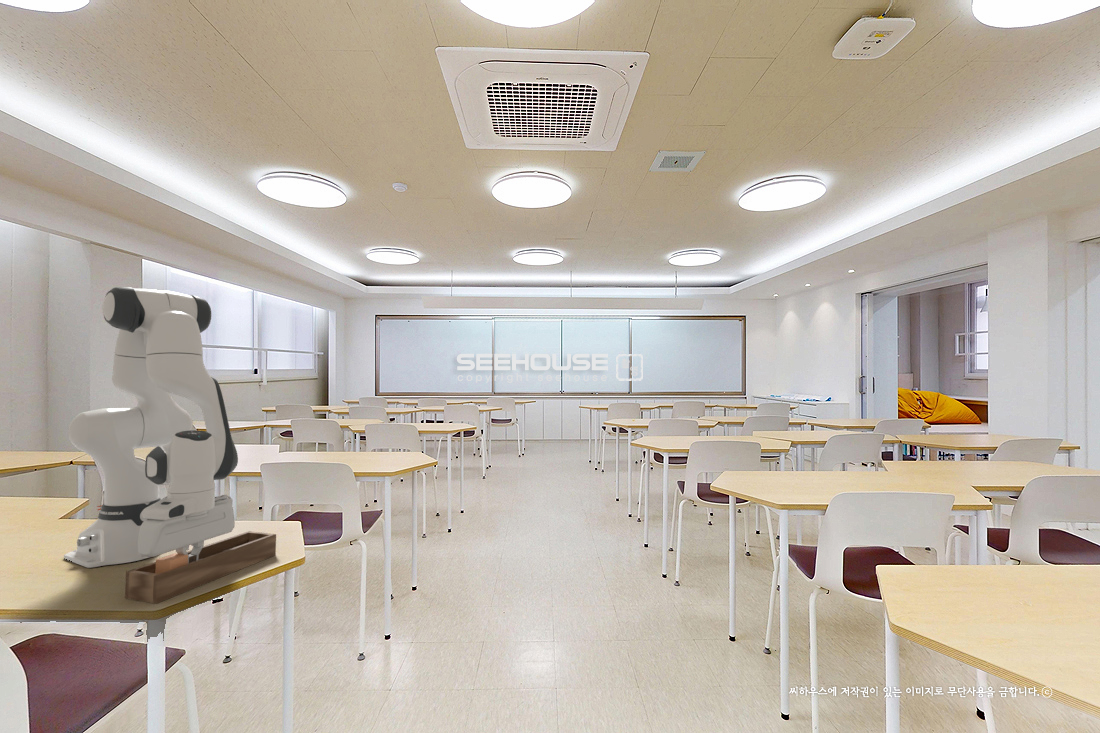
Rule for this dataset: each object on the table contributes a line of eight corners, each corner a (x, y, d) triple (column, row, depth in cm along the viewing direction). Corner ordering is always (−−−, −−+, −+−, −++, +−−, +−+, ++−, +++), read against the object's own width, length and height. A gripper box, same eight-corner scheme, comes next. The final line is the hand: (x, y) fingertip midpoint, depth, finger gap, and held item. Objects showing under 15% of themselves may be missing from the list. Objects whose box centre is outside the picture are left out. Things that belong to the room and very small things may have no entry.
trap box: (124, 598, 103) (125, 571, 103) (248, 551, 131) (249, 531, 132) (156, 603, 100) (157, 576, 100) (275, 555, 129) (276, 534, 129)
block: (155, 578, 106) (155, 559, 106) (173, 571, 110) (174, 553, 110) (169, 580, 105) (169, 561, 105) (187, 573, 109) (188, 554, 109)
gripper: (222, 492, 123) (220, 547, 122) (133, 512, 103) (131, 578, 102) (242, 493, 121) (240, 550, 120) (156, 514, 101) (153, 582, 101)
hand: (189, 563), depth 111 cm, fingers closed
